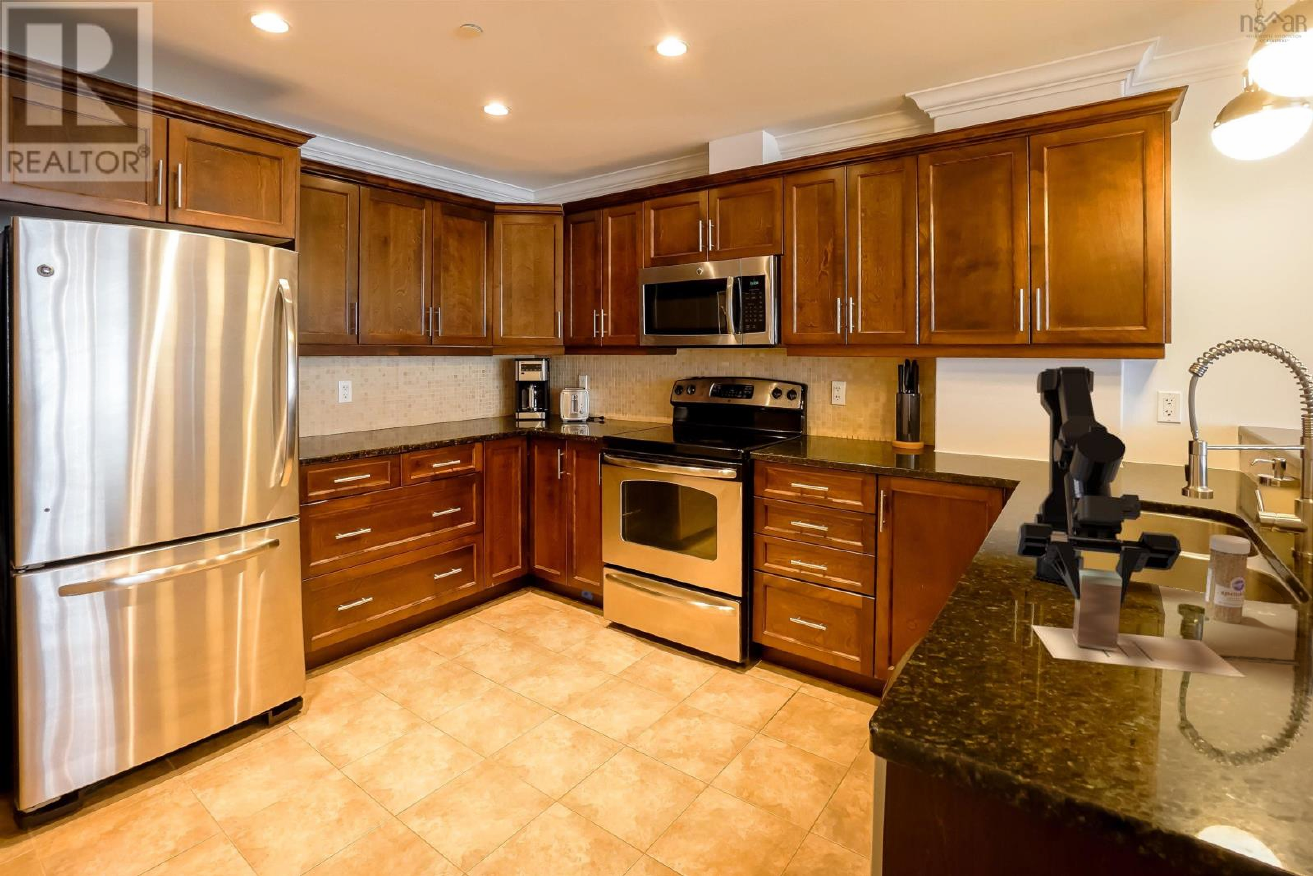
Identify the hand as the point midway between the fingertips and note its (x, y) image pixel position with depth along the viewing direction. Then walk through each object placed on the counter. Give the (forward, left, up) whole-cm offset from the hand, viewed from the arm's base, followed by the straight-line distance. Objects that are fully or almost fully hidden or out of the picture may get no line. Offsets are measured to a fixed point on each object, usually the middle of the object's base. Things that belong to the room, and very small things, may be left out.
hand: (1099, 600), depth 88 cm
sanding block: (-1, +1, -7) cm, 7 cm away
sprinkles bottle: (+9, +27, -8) cm, 29 cm away
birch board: (+3, +3, -8) cm, 9 cm away
